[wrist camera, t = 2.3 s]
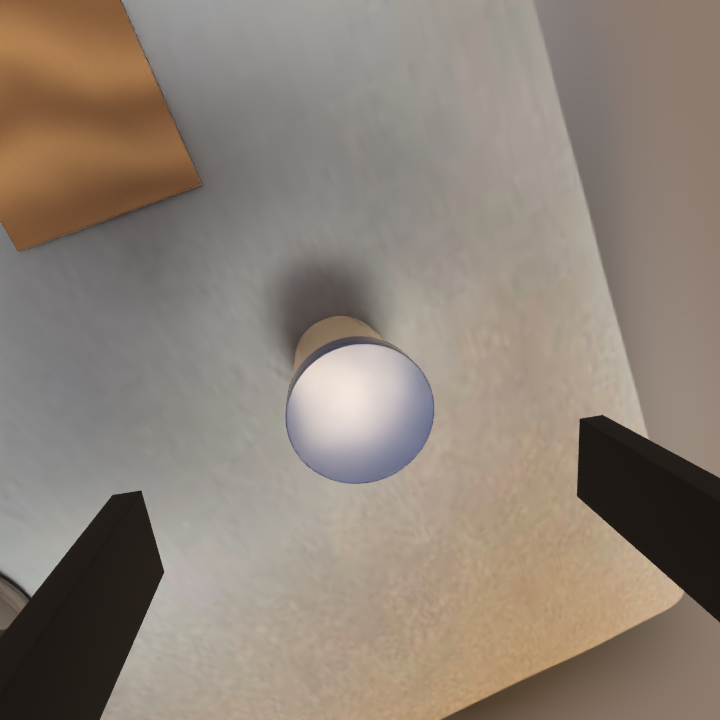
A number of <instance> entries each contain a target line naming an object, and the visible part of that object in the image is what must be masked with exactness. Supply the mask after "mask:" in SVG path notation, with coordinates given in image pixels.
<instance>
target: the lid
mask: <svg viewBox="0 0 720 720" xmlns="http://www.w3.org/2000/svg"><path fill="white" fill-rule="evenodd" d="M433 418H434V400H433V395H432V391H431V388H430V385H429V383H428V380H427V379H426V377H425V375H424V374H423V372H422V371H421V369H420V368H419V367H418V366H417V365H416V364H415V363H414V362H413V361H412V360H411V359H410V358H409V357H408V356H407V355H406V354H405V353H404V352H402V351H401V350H400V349H398V348H397V347H396V346H394V345H392V344H390V343H388V342H386V341H383V340H380V339H377V338H372V337H365V336H353V337H346V338H341V339H338V340H334V341H332V342H329V343H327V344H325V345H323V346H322V347H320V348H318V349H317V350H315V351H314V352H313V353H312V354H311V355H309V356H308V357H307V358H306V359H305V360H304V362H303V363H302V364H301V365H300V367H299V368H298V369H297V371H296V373H295V375H294V377H293V378H292V381H291V384H290V387H289V390H288V395H287V405H286V428H287V432H288V436H289V439H290V442H291V444H292V446H293V448H294V450H295V452H296V453H297V455H298V456H299V457H300V459H301V460H302V461H303V462H304V463H305V464H306V465H307V466H308V467H310V468H311V469H312V470H314V471H315V472H316V473H318V474H320V475H322V476H324V477H326V478H328V479H331V480H334V481H338V482H343V483H351V484H361V483H369V482H374V481H378V480H381V479H384V478H387V477H389V476H391V475H393V474H395V473H396V472H398V471H400V470H401V469H403V468H404V467H405V466H406V465H408V464H409V463H410V462H411V461H412V460H413V459H414V458H415V457H416V456H417V454H418V453H419V452H420V451H421V449H422V448H423V446H424V444H425V443H426V441H427V439H428V436H429V434H430V431H431V428H432V424H433Z"/></svg>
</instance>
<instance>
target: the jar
mask: <svg viewBox="0 0 720 720" xmlns="http://www.w3.org/2000/svg"><path fill="white" fill-rule="evenodd" d="M353 336H365V337H372V338H377V339H380V340H383V339H382V338H381V337H380V336H379V335H378V334H377V333H376V332H375V331H374V330H373V329H372V328H371V327H370V326H369V325H367V324H366V323H365V322H363V321H361V320H359V319H356V318H353V317H348V316H334V317H329V318H326V319H323V320H321V321H319V322H317V323H315V324H314V325H312V326H311V327H310V328H309V329H308V330H307V331H306V332H305V333H304V334H303V336H302V337H301V339H300V341H299V342H298V345H297V347H296V351H295V356H294V375H295V373H296V371H297V369H298V368H299V367H300V365H301V364H302V363H303V362H304V360H305V359H306V358H307V357H308V356H309V355H311V354H312V353H313V352H314V351H315V350H317V349H318V348H320V347H322V346H323V345H325V344H327V343H329V342H332V341H334V340H338V339H341V338H346V337H353ZM383 341H384V340H383ZM294 375H293V377H294Z"/></svg>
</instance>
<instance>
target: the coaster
mask: <svg viewBox="0 0 720 720" xmlns="http://www.w3.org/2000/svg"><path fill="white" fill-rule="evenodd" d="M201 185H202V183H201V181H200V179H199V177H198V174H197V172H196V170H195V167H194V165H193V163H192V161H191V158H190V156H189V154H188V152H187V149H186V147H185V145H184V143H183V140H182V138H181V136H180V133H179V131H178V129H177V127H176V124H175V122H174V120H173V118H172V115H171V113H170V111H169V109H168V106H167V104H166V102H165V99H164V97H163V95H162V93H161V90H160V88H159V86H158V84H157V81H156V79H155V77H154V74H153V72H152V70H151V68H150V65H149V63H148V61H147V59H146V56H145V54H144V52H143V50H142V47H141V45H140V43H139V40H138V38H137V36H136V34H135V31H134V29H133V27H132V25H131V22H130V20H129V18H128V16H127V13H126V11H125V9H124V6H123V4H122V2H121V0H0V222H1V223H2V225H3V227H4V228H5V230H6V232H7V234H8V235H9V237H10V239H11V240H12V242H13V244H14V245H15V247H16V249H17V250H18V251H25V250H27V249H30V248H33V247H36V246H38V245H41V244H44V243H47V242H49V241H52V240H55V239H57V238H60V237H63V236H66V235H68V234H71V233H74V232H76V231H79V230H82V229H85V228H87V227H90V226H93V225H95V224H98V223H101V222H104V221H106V220H109V219H112V218H114V217H117V216H120V215H123V214H125V213H128V212H131V211H133V210H136V209H139V208H142V207H144V206H147V205H150V204H153V203H155V202H158V201H161V200H163V199H166V198H169V197H172V196H174V195H177V194H180V193H182V192H185V191H188V190H191V189H193V188H196V187H199V186H201Z"/></svg>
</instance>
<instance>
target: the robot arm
mask: <svg viewBox="0 0 720 720" xmlns="http://www.w3.org/2000/svg"><path fill="white" fill-rule="evenodd" d="M577 497H579V498H580V499H581V500H582V501H583V502H584V503H585V504H587V505H588V506H589V507H590V508H591V509H592V510H593V511H594V512H596V513H597V514H598V515H599V516H600V517H601V518H602V519H603V520H605V521H606V522H607V523H608V524H609V525H610V526H611V527H613V528H614V529H615V530H616V531H617V532H618V533H619V534H620V535H622V536H623V537H624V538H625V539H626V540H627V541H628V542H629V543H631V544H632V545H633V546H634V547H635V548H636V549H637V550H639V551H640V552H641V553H642V554H643V555H644V556H645V557H646V558H648V559H649V560H650V561H651V562H652V563H653V564H654V565H655V566H657V567H658V568H659V569H660V570H661V571H662V572H663V573H665V574H666V575H667V576H668V577H669V578H670V579H671V580H672V581H674V582H675V583H676V584H677V585H678V586H679V587H680V588H681V589H683V590H684V591H685V592H686V593H687V594H688V595H689V596H691V597H692V598H693V599H694V600H695V601H696V602H697V603H698V604H700V605H701V606H702V607H703V608H704V609H705V610H706V611H707V612H709V613H710V614H711V615H712V616H713V617H714V618H716V619H717V620H718V621H719V622H720V478H719V477H717V476H715V475H713V474H711V473H709V472H707V471H706V470H704V469H702V468H700V467H698V466H696V465H694V464H692V463H691V462H689V461H687V460H685V459H683V458H681V457H679V456H678V455H676V454H674V453H672V452H670V451H668V450H667V449H665V448H663V447H661V446H659V445H657V444H655V443H653V442H652V441H650V440H648V439H646V438H644V437H642V436H641V435H639V434H637V433H635V432H633V431H631V430H629V429H628V428H626V427H624V426H622V425H620V424H618V423H616V422H615V421H613V420H611V419H609V418H607V417H605V416H603V415H600V416H594V417H588V418H582V419H580V429H579V457H578V485H577ZM163 574H164V569H163V566H162V562H161V559H160V555H159V552H158V548H157V545H156V541H155V537H154V534H153V530H152V527H151V523H150V520H149V516H148V513H147V509H146V506H145V502H144V498H143V495H142V491H135V492H129V493H123V494H117V495H112V496H111V498H110V499H109V500H108V502H107V503H106V504H105V505H104V507H103V508H102V509H101V510H100V512H99V513H98V514H97V515H96V517H95V518H94V519H93V521H92V522H91V523H90V524H89V526H88V527H87V528H86V529H85V531H84V532H83V533H82V534H81V536H80V537H79V538H78V539H77V541H76V542H75V543H74V545H73V546H72V547H71V548H70V550H69V551H68V552H67V553H66V555H65V556H64V557H63V558H62V560H61V561H60V562H59V564H58V565H57V566H56V567H55V569H54V570H53V571H52V572H51V574H50V575H49V576H48V577H47V579H46V580H45V581H44V583H43V584H42V585H41V586H40V588H39V589H38V590H37V591H36V593H35V594H34V595H33V596H32V598H31V599H30V600H28V598H27V597H26V596H25V595H24V594H23V593H22V592H21V591H20V590H18V589H17V588H16V587H15V586H14V585H12V584H11V583H10V582H8V581H7V580H5V579H3V578H2V577H0V720H100V718H101V716H102V713H103V711H104V709H105V706H106V704H107V702H108V699H109V697H110V695H111V693H112V690H113V688H114V686H115V683H116V681H117V679H118V677H119V674H120V672H121V670H122V667H123V665H124V663H125V661H126V658H127V656H128V654H129V651H130V649H131V647H132V645H133V642H134V640H135V638H136V635H137V633H138V631H139V629H140V626H141V624H142V622H143V619H144V617H145V615H146V613H147V610H148V608H149V606H150V603H151V601H152V599H153V596H154V594H155V592H156V590H157V587H158V585H159V583H160V580H161V578H162V576H163Z"/></svg>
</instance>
